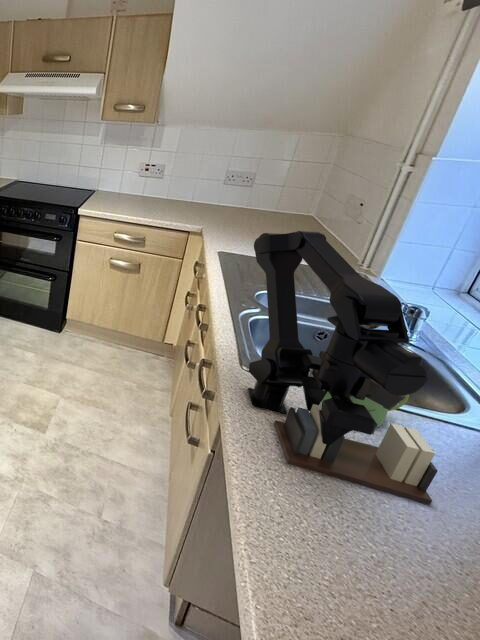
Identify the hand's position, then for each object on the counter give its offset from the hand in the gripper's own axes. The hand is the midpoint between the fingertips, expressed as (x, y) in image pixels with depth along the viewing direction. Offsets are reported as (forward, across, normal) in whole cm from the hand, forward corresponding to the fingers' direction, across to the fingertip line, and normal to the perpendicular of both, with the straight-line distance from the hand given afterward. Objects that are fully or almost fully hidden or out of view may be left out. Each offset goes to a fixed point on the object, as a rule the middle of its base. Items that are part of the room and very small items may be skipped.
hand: (318, 426), depth 78 cm
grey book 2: (+5, 0, -2) cm, 5 cm away
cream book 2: (+5, 0, -12) cm, 13 cm away
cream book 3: (+5, 0, -14) cm, 14 cm away
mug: (+6, +18, -13) cm, 23 cm away
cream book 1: (+5, 0, 0) cm, 5 cm away
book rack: (+6, 0, -5) cm, 8 cm away
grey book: (+5, 0, +2) cm, 5 cm away
